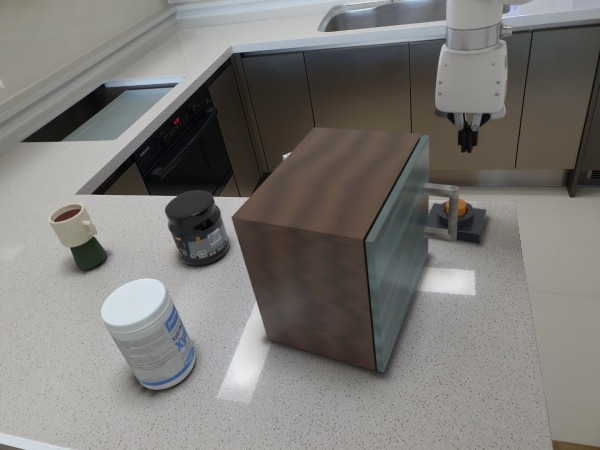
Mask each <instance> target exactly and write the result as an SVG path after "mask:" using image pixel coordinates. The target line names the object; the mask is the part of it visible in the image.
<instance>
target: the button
mask: <svg viewBox="0 0 600 450" xmlns="http://www.w3.org/2000/svg"><path fill="white" fill-rule="evenodd" d="M445 202H446V201H445ZM466 203H467V201H465V200H464V199H462V198H459V203H458V217H459V216H463V215H464V214H465V213H466ZM446 213H447V214H449V199H448V200H447V202H446Z"/></svg>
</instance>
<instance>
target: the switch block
mask: <svg viewBox="0 0 600 450" xmlns="http://www.w3.org/2000/svg"><path fill="white" fill-rule="evenodd" d="M447 201H448V200H447ZM447 201H444V202H443V203H437V202H434V203H432V207H431V209H430V210H429V214H428V227H433V228H440V229H447V230H448V214H447V213H446V202H447ZM486 218H487V209H486V208H477V207H473V205H472V204H470V203H468V202H466V213H465V214H464V215H463V216H459V217H458V221H457V238H456V241H459V242H466V243H472V244H480V241H481V237H482V233H483V230H484V226H485V222H486Z"/></svg>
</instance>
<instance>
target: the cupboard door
mask: <svg viewBox="0 0 600 450" xmlns="http://www.w3.org/2000/svg"><path fill="white" fill-rule="evenodd" d="M431 196H432V197H439V198H446V199H447V198H448V200H449V214H448V230H447V229H440V228H433V227H428V216H429V213H430V210H429V207H430V203H429V202H430V200H429V199H430V197H431ZM459 199H460V187H459V186H458V185H452V184H451V185H450V184H440V183H432V182H430V134H423V135H421V139H420V141H419V143H418V145H417V147H416V148H415V150H414V152H413V154H412V156H411V158H410V159H409V161H408V163H407V165H406V167H405V169H404V171H403V172H402V174H401V176H400V178H399V180H398V182H397V183H396V185H395V187H394V189H393V191H392V193H391V194H390V196H389V198H388V200H387V202H386V204H385V205H384V207H383V209H382V211H381V213H380V215H379V217H378V218H377V220H376V222H375V224H374V226H373V228H372V229H371V231H370V233H369V235H368V237H367V239H366V240H365V243H366V254H367V264H368V275H369V286H370V297H371V308H372V319H373V329H374V340H375V351H376V362H377V369H376V371H377V372H378V373H382V374H384V373H385V371H386V369H387V366H388V363H389V361H390V358H391V355H392V353H393V350H394V348H395V345H396V342H397V340H398V337H399V335H400V331H401V329H402V327H403V324H404V320H405V318H406V315H407V313H408V310H409V308H410V305H411V302H412V299H413V297H414V294H415V291H416V289H417V286H418V283H419V281H420V278H421V276H422V273H423V270H424V267H425V265H426V262H427V259H428V257H429V239H430V240H434V241H435V240H436V241H442V242H449V243H455V242H456V241H457V240H456V238H457V221H458V203H459Z"/></svg>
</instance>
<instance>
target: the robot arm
mask: <svg viewBox="0 0 600 450" xmlns="http://www.w3.org/2000/svg"><path fill="white" fill-rule="evenodd" d="M533 1H534V0H446V1H445V4H446V5H445V43H444V44H443V45H441V49H440V53H439V58H438V64H437V70H436V71H437V73H436V83H435V93H434V94H435V95H434V98H435V99H434V100H435V101H434V102H435V110H434V115H435V117H439V118H443V119H447V120H448V121H449V122H450V123H452V125H453V126H455V129H456V130H457V146H460V153H462V154H463V153H468V154H472V152H473V149H474V147H477V146H478V145H479V134H480V133H479V131H480V128H481V127H483V126H484V125H485V124H486V123H488V122H489V121H490V120H492V121H493V120H499V119H504V118H505V116H506V113H507V109H506V105H505V101H506V97H507V89H508V68H509V67H508V64H509V63H508V62H509V61H508V47H507V42H506V41H505V40H503V38H506V37H511V36H512V34H513V25H512V24H511V25H508V24H505V22H503V21H504V20H503V11H504V5H505V6H506V5H507V6H521V5H526V4H529V3H532V2H533ZM467 114H473V117H472V120H471V122H470V124H469V122H468V120H467Z"/></svg>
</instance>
